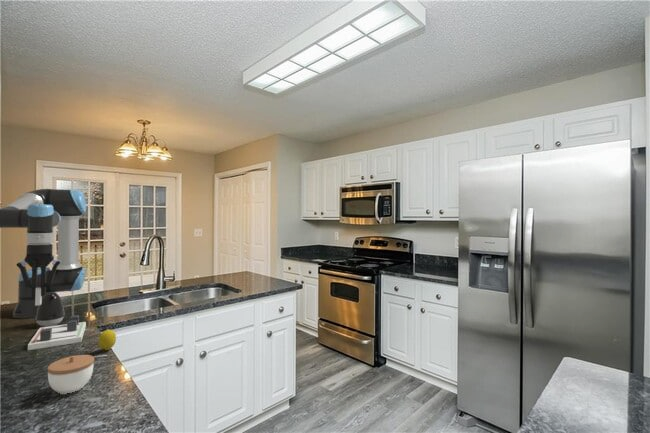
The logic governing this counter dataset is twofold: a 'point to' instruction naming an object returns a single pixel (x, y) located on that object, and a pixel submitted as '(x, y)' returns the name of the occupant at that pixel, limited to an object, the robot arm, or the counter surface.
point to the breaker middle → (72, 325)
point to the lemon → (107, 339)
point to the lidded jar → (70, 373)
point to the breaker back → (75, 318)
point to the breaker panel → (58, 336)
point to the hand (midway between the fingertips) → (38, 304)
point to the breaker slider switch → (45, 334)
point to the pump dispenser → (50, 310)
